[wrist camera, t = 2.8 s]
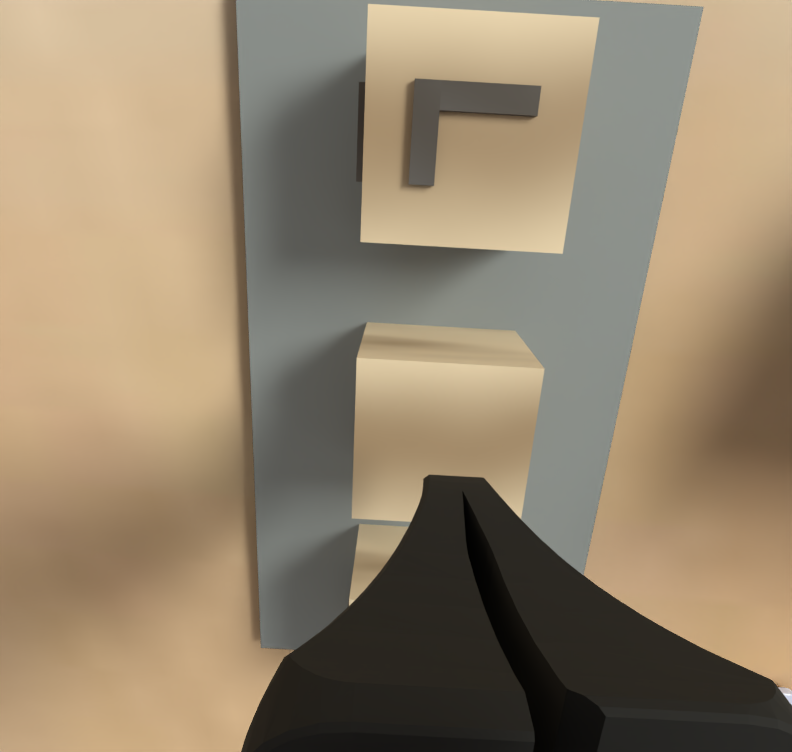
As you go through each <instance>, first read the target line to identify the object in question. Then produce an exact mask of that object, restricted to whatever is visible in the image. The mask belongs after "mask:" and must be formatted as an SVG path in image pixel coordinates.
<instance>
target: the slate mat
mask: <svg viewBox="0 0 792 752" xmlns="http://www.w3.org/2000/svg"><path fill="white" fill-rule="evenodd" d="M368 4H380V5H397V6H414V7H431V8H448V9H465V10H481V11H498V12H515V13H532V14H549V15H566V16H583V17H599V18H600V19H599V25H598V31H597V38H596V44H595V50H594V57H593V63H592V70H591V76H590V82H589V89H588V95H587V102H586V108H585V114H584V121H583V127H582V133H581V140H580V146H579V153H578V159H577V165H576V172H575V178H574V184H573V191H572V197H571V204H570V210H569V216H568V223H567V229H566V236H565V242H564V248H563V254H558V253H541V252H524V251H506V250H489V249H472V248H455V247H437V246H420V245H403V244H385V243H368V242H360V238H361V207H362V182H356V167H357V131H358V95H359V82H365V80H366V49H367V17H368ZM702 12H703V7H698V6H681V5H665V4H648V3H631V2H614V1H597V0H236V16H237V42H238V67H239V93H240V119H241V145H242V170H243V196H244V222H245V248H246V274H247V299H248V325H249V351H250V377H251V402H252V428H253V454H254V480H255V506H256V531H257V557H258V583H259V609H260V634H261V648H275V649H293V650H296V649H297V648H299V647H300V646H301V645H303V644H304V643H305V642H307V641H308V640H309V639H311V638H312V637H314V636H315V635H316V634H318V633H319V632H320V631H322V630H323V629H324V628H325V627H326V626H328V625H329V624H330V623H331V622H332V621H333V620H334V619H335V618H336V617H337V616H339V615H340V614H341V613H342V612H343V611H344V610H345V609H346V608H347V607H348V600H349V593H350V586H351V581H352V574H353V567H354V559H355V552H356V545H357V537H358V530H359V524H370V525H387V526H405V527H409V525H410V523H411V522H406V521H388V520H370V519H353V518H352V491H353V459H354V428H355V396H356V364H357V355H358V352H359V348H360V345H361V341H362V338H363V334H364V331H365V327H366V324H367V322H372V323H390V324H407V325H424V326H442V327H459V328H477V329H494V330H511V331H516V332H517V334H518V335H519V336H520V338H521V339H522V340H523V341H524V343H525V344H526V345H527V347H528V348H529V349H530V350H531V352H532V353H533V354H534V356H535V357H536V358H537V360H538V361H539V362H540V363H541V365H542V366H543V367H544V369H545V370H544V376H543V382H542V389H541V395H540V401H539V408H538V414H537V421H536V427H535V433H534V440H533V446H532V453H531V459H530V465H529V472H528V478H527V484H526V491H525V497H524V504H523V510H522V516H521V520H522V521H523V522H524V523H525V524H526V525H527V526H528V527H529V528H530V529H531V530H532V531H533V532H534V533H535V534H536V535H537V536H538V537H539V538H540V539H541V540H542V541H543V542H545V543H546V544H547V545H548V546H549V547H550V548H551V549H552V550H553V551H554V552H556V553H557V554H558V555H559V556H560V557H561V558H562V559H564V560H565V561H566V562H567V563H568V564H570V565H571V566H572V567H573V568H575V569H576V570H577V571H578V572H580V573H581V574H582V575H584V570H585V565H586V560H587V556H588V551H589V546H590V541H591V537H592V532H593V527H594V523H595V518H596V513H597V508H598V504H599V499H600V494H601V489H602V485H603V480H604V475H605V471H606V466H607V461H608V456H609V452H610V447H611V442H612V437H613V433H614V428H615V423H616V418H617V414H618V409H619V404H620V400H621V395H622V390H623V385H624V381H625V376H626V371H627V366H628V362H629V357H630V352H631V348H632V343H633V338H634V333H635V329H636V324H637V319H638V314H639V310H640V305H641V300H642V295H643V291H644V286H645V281H646V277H647V272H648V267H649V262H650V258H651V253H652V248H653V243H654V239H655V234H656V229H657V225H658V220H659V215H660V210H661V206H662V201H663V196H664V191H665V187H666V182H667V177H668V172H669V168H670V163H671V158H672V154H673V149H674V144H675V139H676V135H677V130H678V125H679V120H680V116H681V111H682V106H683V101H684V97H685V92H686V87H687V83H688V78H689V73H690V68H691V64H692V59H693V54H694V49H695V45H696V40H697V35H698V31H699V26H700V21H701V16H702Z"/></svg>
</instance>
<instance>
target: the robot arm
mask: <svg viewBox="0 0 792 752" xmlns="http://www.w3.org/2000/svg"><path fill="white" fill-rule="evenodd" d="M241 752H792V690H790V689H789V688H784V687H777V686H776V684H775V683H774V682H773V681H772V680H770V679H768V678H766V677H764V676H762V675H759V674H757V673H755V672H753V671H751V670H748V669H746V668H744V667H742V666H740V665H737V664H735V663H733V662H731V661H729V660H726V659H724V658H722V657H720V656H718V655H715V654H713V653H711V652H709V651H707V650H705V649H703V648H701V647H699V646H697V645H695V644H693V643H691V642H689V641H687V640H685V639H684V638H682V637H680V636H678V635H676V634H674V633H672V632H670V631H669V630H667V629H665V628H663V627H661V626H660V625H658V624H656V623H654V622H653V621H651V620H649V619H648V618H646V617H644V616H642V615H641V614H639V613H638V612H636V611H635V610H633V609H631V608H630V607H628V606H627V605H625V604H624V603H622V602H620V601H619V600H617V599H616V598H614V597H613V596H611V595H610V594H608V593H607V592H605V591H604V590H603V589H601V588H600V587H598V586H597V585H595V584H594V583H593V582H592V581H590V580H589V579H588V578H586V577H585V576H584V575H582V574H581V573H580V572H578V571H577V570H576V569H575V568H573V567H572V566H571V565H570V564H568V563H567V562H566V561H565V560H564V559H562V558H561V557H560V556H559V555H558V554H557V553H556V552H554V551H553V550H552V549H551V548H550V547H549V546H548V545H547V544H546V543H545V542H543V541H542V540H541V539H540V538H539V537H538V536H537V535H536V534H535V533H534V532H533V531H532V530H531V529H530V528H529V527H528V526H527V525H526V524H525V523H524V522H523V521H522V520H521V519H520V518H519V517H518V516H517V515H516V513H515V512H514V511H513V510H512V509H511V508H510V507H509V506H508V505H507V503H506V502H505V501H504V500H503V499H502V498H501V497H500V495H499V494H498V493H497V492H496V491H495V490H494V489H493V487H492V486H491V485H490V484H489V483H488V482H487V481H486V479H485V478H483V477H465V476H447V475H430V474H429V475H428V476H426V477H425V478H424V479H423V490H422V496H421V499H420V502H419V505H418V507H417V510H416V512H415V514H414V516H413V519H412V521H411V523H410V525H409V527H408V529H407V531H406V532H405V534H404V536H403V538H402V539H401V541H400V543H399V545H398V546H397V548H396V550H395V551H394V553H393V554H392V556H391V557H390V559H389V560H388V561H387V563H386V564H385V566H384V567H383V568H382V570H381V571H380V572H379V573H378V575H377V576H376V577H375V578H374V579H373V581H372V582H371V583H370V584H369V585H368V587H367V588H366V589H365V590H364V591H363V592H362V593H361V594H360V595H359V597H358V598H357V599H356V600H355V601H354V602H353V603H352V604H351V605H349V606H348V607H347V608H346V609H345V610H344V611H343V612H342V613H341V614H340V615H339V616H337V617H336V618H335V619H334V620H333V621H332V622H331V623H330V624H329V625H328V626H326V627H325V628H324V629H323V630H322V631H320V632H319V633H318V634H316V635H315V636H314V637H312V638H311V639H309V640H308V641H307V642H305V643H304V644H303V645H301V646H300V647H299V648H297V649H296V650H294V651H293V652H292V653H290V654H289V655H287V656H286V657H284V659H283V661H282V662H281V664H280V666H279V668H278V669H277V671H276V673H275V675H274V677H273V678H272V680H271V682H270V684H269V686H268V688H267V690H266V692H265V694H264V696H263V698H262V700H261V702H260V704H259V706H258V708H257V711H256V713H255V715H254V718H253V720H252V723H251V725H250V727H249V730H248V732H247V735H246V738H245V741H244V744H243V748H242V751H241Z"/></svg>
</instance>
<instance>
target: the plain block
mask: <svg viewBox="0 0 792 752" xmlns="http://www.w3.org/2000/svg"><path fill="white" fill-rule="evenodd" d="M544 370H545V369H544V367H543V366H542V365H541V363H540V362H539V361H538V360H537V358H536V357H535V356H534V354H533V353H532V352H531V350H530V349H529V348H528V347H527V345H526V344H525V343H524V341H523V340H522V339H521V338H520V336H519V335H518V334H517V332H516V331H511V330H494V329H477V328H459V327H442V326H424V325H407V324H390V323H372V322H367V324H366V327H365V331H364V334H363V338H362V341H361V345H360V348H359V352H358V355H357V364H356V396H355V428H354V459H353V491H352V518H353V519H370V520H388V521H406V522H411V521H412V519H413V516H414V514H415V512H416V510H417V507H418V505H419V502H420V499H421V496H422V490H423V479H424V478H425V477H426V476H428V475H429V474H430V475H447V476H465V477H483V478H485V479H486V481H487V482H488V483H489V484H490V485H491V486H492V487H493V489H494V490H495V491H496V492H497V493H498V494H499V495H500V497H501V498H502V499H503V500H504V501H505V502H506V503H507V505H508V506H509V507H510V508H511V509H512V510H513V511H514V512H515V513H516V515H517V516H518V517H519V518H520V519H521V516H522V510H523V504H524V497H525V491H526V484H527V478H528V472H529V465H530V459H531V453H532V446H533V440H534V433H535V427H536V421H537V414H538V408H539V401H540V395H541V389H542V382H543V376H544Z"/></svg>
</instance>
